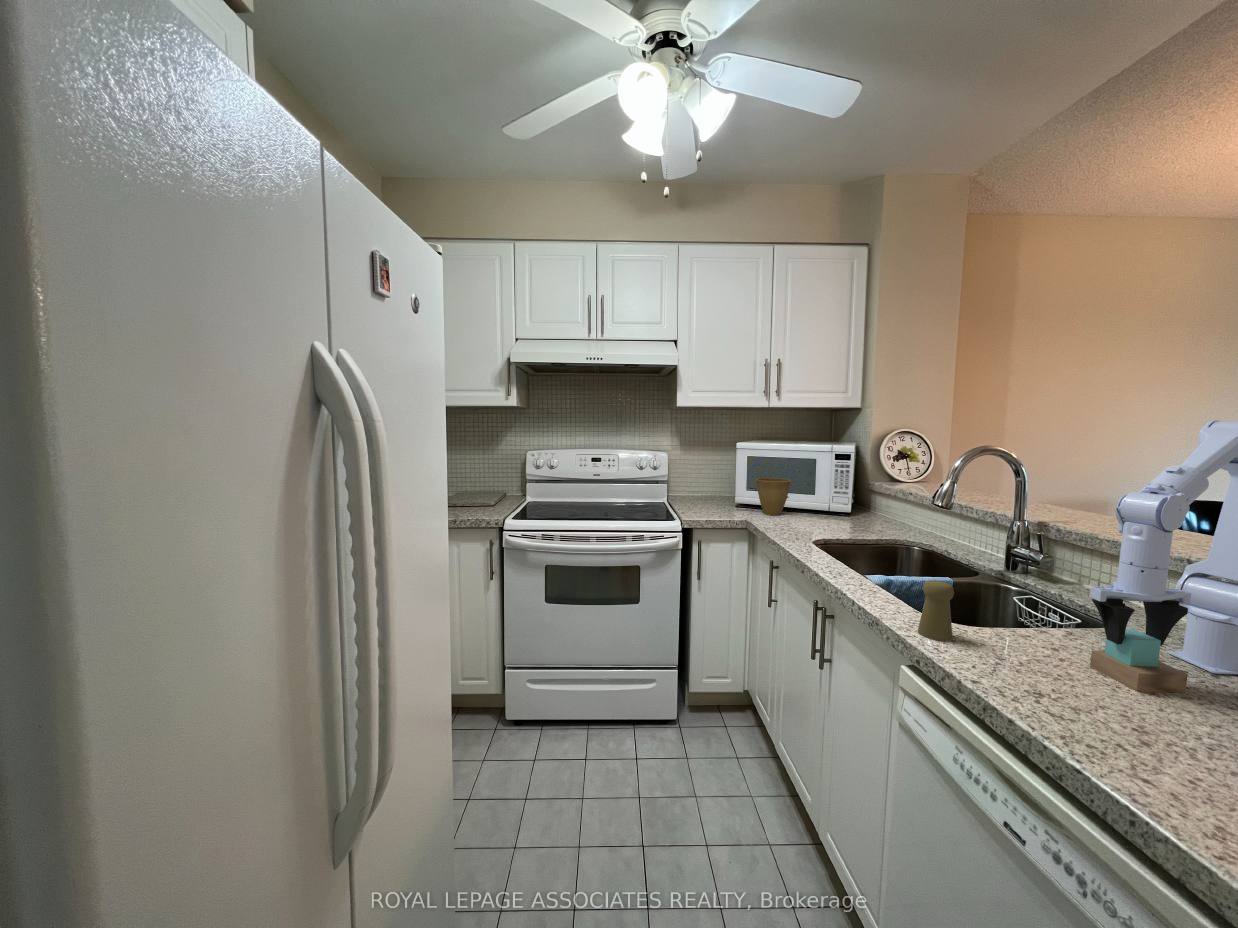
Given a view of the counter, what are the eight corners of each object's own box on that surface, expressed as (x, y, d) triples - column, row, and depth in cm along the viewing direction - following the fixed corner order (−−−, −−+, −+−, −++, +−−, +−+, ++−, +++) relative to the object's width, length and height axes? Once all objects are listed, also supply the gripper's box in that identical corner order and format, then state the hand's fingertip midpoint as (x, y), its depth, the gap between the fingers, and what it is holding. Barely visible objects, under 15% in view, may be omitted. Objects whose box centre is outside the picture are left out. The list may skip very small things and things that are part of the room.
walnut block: (1134, 669, 89) (1136, 650, 89) (1185, 694, 81) (1187, 673, 81) (1089, 669, 89) (1091, 650, 89) (1136, 693, 81) (1138, 673, 81)
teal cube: (1131, 654, 87) (1133, 629, 87) (1157, 666, 83) (1160, 640, 83) (1104, 653, 88) (1107, 628, 87) (1130, 665, 83) (1132, 639, 83)
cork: (920, 625, 106) (924, 575, 104) (954, 634, 102) (958, 581, 101) (915, 635, 101) (919, 582, 100) (950, 644, 97) (955, 589, 96)
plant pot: (787, 512, 234) (788, 478, 233) (790, 518, 220) (792, 482, 218) (754, 510, 238) (755, 476, 236) (755, 516, 223) (757, 480, 222)
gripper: (1163, 558, 87) (1154, 633, 89) (1077, 556, 88) (1069, 630, 89) (1209, 571, 80) (1198, 652, 82) (1115, 568, 81) (1106, 648, 82)
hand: (1134, 642), depth 85 cm, fingers open, 6 cm apart
